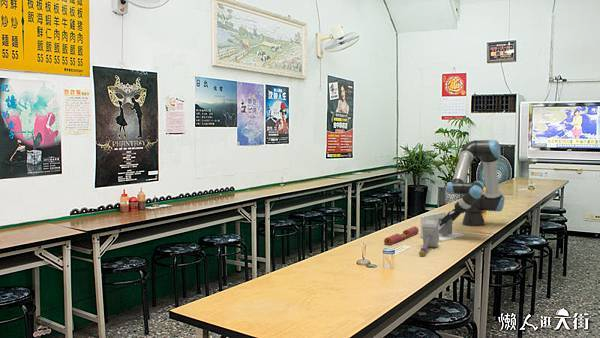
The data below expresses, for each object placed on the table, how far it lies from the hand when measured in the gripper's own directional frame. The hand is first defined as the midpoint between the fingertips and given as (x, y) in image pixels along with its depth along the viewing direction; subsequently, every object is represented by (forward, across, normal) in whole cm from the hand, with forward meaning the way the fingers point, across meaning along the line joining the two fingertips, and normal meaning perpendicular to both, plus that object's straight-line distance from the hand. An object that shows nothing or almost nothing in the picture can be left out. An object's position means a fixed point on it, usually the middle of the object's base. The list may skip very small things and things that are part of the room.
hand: (440, 227), depth 338 cm
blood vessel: (+14, -23, +5) cm, 27 cm away
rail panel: (+2, 0, -5) cm, 6 cm away
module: (0, 0, -5) cm, 5 cm away
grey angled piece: (-8, -39, -16) cm, 43 cm away
